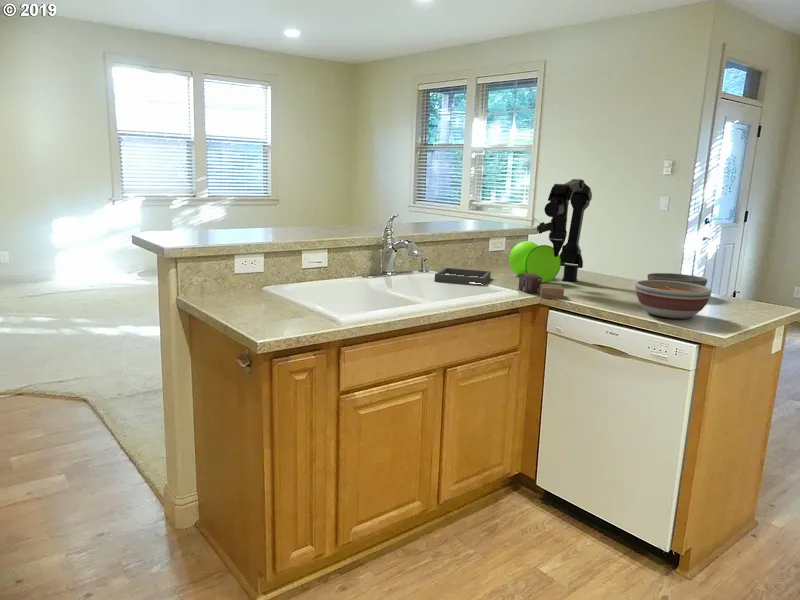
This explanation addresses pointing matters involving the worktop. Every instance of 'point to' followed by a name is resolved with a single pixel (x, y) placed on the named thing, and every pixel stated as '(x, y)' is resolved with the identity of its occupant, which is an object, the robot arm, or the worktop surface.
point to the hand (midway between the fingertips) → (556, 255)
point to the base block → (551, 291)
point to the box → (529, 282)
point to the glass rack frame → (464, 279)
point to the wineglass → (534, 260)
